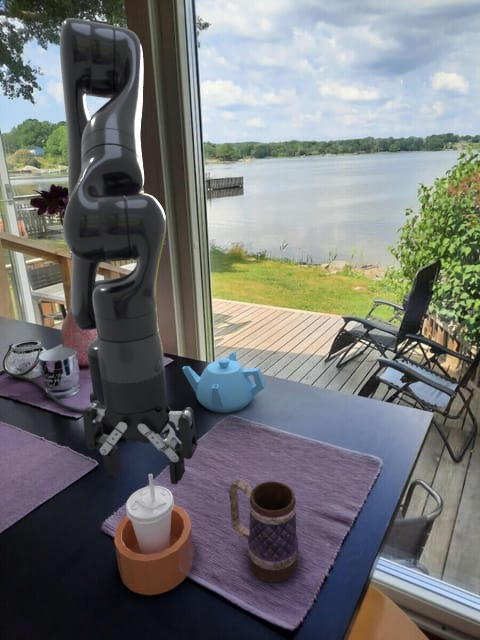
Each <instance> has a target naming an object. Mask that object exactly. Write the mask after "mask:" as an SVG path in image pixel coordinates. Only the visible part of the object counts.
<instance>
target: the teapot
mask: <svg viewBox="0 0 480 640" xmlns="http://www.w3.org/2000/svg"><path fill="white" fill-rule="evenodd" d="M181 371H182V372H183V374H184V375H185V378H186V380H187V381H188V383H189V384H190V386H191V388H192V390H193V391H194V393H195V395H196V399H197V401H198V403H200V405H202V407H204V408H205V409H207V410H208V411H211V412H216V413H233V412H238V411H240V410H242V409H244V408H245V407H247V406H248V405H249V404H250V402H251V401H252V400H253V398H254V397H255V396H256V395H257V394H259V393H260V392H262V391H263V390H265V388H266V382H265V379H264V377H263V374H262V371H261V368H260V367H251V368H249V367H248V368H245V367H244V366H243V365H242V364H241V363H240V362H239V361H237V352H235V351H231V352H230V353H229V357H228V358H227V357H222V358H221V357H220V358H219V359H218V360H214V361H212V362H210V363H209V364H208V365H207V366H206V367H205V368H204V370H203V371H202V373H201V375H198V374H197V372H195V371H194V370H193V369H192V368H191V366H190V365H188V366H187V365H185V366H183V367H181ZM251 376H252V377H253V380H254V383H253V380H252V378H251Z"/></svg>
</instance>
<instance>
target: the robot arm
mask: <svg viewBox="0 0 480 640" xmlns="http://www.w3.org/2000/svg"><path fill="white" fill-rule="evenodd" d="M143 56H144V55H143V48H142V44H141V41H140V38H139V37H138V35H137V33H136V32H134V31H133V30H131V29H128V28H125V27H122V26H118V25H113V24H107V23H103V22H98V21H97V22H96V21H92V20H91V21H90V20H87V19H80V18H75V17H67V18H65V20H63V21H62V24H61V28H60V34H59V59H60V61H59V62H60V72H61V73H60V74H61V82H62V92H63V93H62V94H63V102H64V113H65V124H66V135H67V179H68V180H67V181H68V182H67V184H68V186H67V187H68V202H67V205H66V208H65V211H64V215H63V221H62V223H63V225H62V230H63V238H64V242H65V244H66V247H67V248H68V250H69V251H70V252H71V274H70V310H71V314H72V318H73V321H74V323H75V325H76V326H77V327H78V328H79V329H80V330H83V331H92V330H96V336H97V337H96V338H95V339H93V340H92V341H91V342H90V343H89V344H88V346H87V347H86V354H87V361H88V368H89V374H90V380H91V388H92V392H91V393H89V400H90V403H89V405H88V406H87V407H86V408H85V409H79V408H76V407H72V406H69V405H67V404H65V403H63V402H61V401H60V400H59V399H57V398H56V397H55V396H54V395H53V394H52V393H51V392H50V393H51V394H50V393H47V392H46V390H45V388H46V387H45V386H44V385H43V384H42V383H40V382H39V381H37V380H35V379H33V378H30V377H28V376H24V375H21V374H16V373H14V374H8V373H7V372H6V371H5V370H6V369H2V370H1V371H0V375H3V374H6V375H8V376H11V377H13V378H17V379H21V380H24V381H27V382H30V383H32V384H34V385H36V386H37V387H39V388H40V389H41V390H42V391H44V393H46V395H47V396H48V397H49V398H50V399H51V400H52V401H54V402H55V403H56V404H57V405H58V406H59V407H60V408H62V409H66V410H68V411H70V412H74V413H78V414H82V419H83V429H84V438H85V447H86V449H87V450H89V451H93V450H97V451H99V453H100V454H101V455H102V460H103V466H104V471H105V473H106V474H108V477H109V479H116V478H117V477H118V475H119V474H120V472H121V470H122V464H121V463H122V462H121V455H120V448H119V446H118V445H116V444H117V443H118V441H122V440H125V442H128V443H133V442H134V443H135V442H139V443H142V444H152V445H153V447H155V448H156V449H157V451H159V452H163V453H164V455H165V456H166V457H167V458H168V459H169V460H168V467H169V478H170V484H171V485H178V483H179V482H180V481H182V479H183V476H184V475H185V472H186V466H185V465H186V464H185V459H186V460H191V459H193V456H194V454H195V451H196V450H197V447H198V438H197V430H196V423H195V416H194V410H193V408H191V407H190V406H186V407H184V409H183V410H171V408H170V407H169V405H168V391H167V381H166V371H165V370H166V369H165V360H164V347H163V342H162V337H161V334H160V327H159V316H158V305H157V302H158V301H157V281H158V274H159V273H158V272H159V268H160V267H159V266H160V262H161V256H162V252H163V247H164V243H165V239H166V232H167V219H166V218H167V217H166V214H165V211H164V209H163V207H162V205H161V204H160V202H159V201H158V200H157V199H156V198H155V197H154V196H153V195H150V194H148V193H142V191H143V188H144V183H145V175H144V174H145V173H144V165H143V157H142V156H143V155H142V146H141V123H142V122H141V121H142V112H143V91H144V90H143V89H144V88H143V87H144V57H143ZM87 96H88V97H95V98H101V99H109V100H108V101H106V103H104V104H103V105H101V107H99V109H97V110H96V111H95V112H94V113H93V114H92V115H91V114H90V111H89V109H88V108H89V107H88V103H87V98H86V97H87ZM123 261H136V264H135V266H134V268H133V269H132V270H131V271H130V272H129V273H128V274H125V275H124V276H121V277H111V278H105V279H99V280H97V274H98V272H99V270H100V267H101V264H102V263H108V262H110V263H111V262H123ZM169 422H171V423H173V424H174V427H175V430H176V431H179V437H180V439H179V438H178V437H177V436H176V432H175V430H174V429H173V427H172V426H171V425H170V424H169ZM161 434H162V435H163V436H162V437H161Z"/></svg>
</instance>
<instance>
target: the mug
mask: <svg viewBox="0 0 480 640" xmlns="http://www.w3.org/2000/svg"><path fill="white" fill-rule="evenodd" d="M238 490H240V491H242V492H243V493H244V496H245V498H246V499H248V501H249V505H248V506H249V508H248V510H249V523H248V524H249V525H248V526H249V527H245V526H244V525H243V524H242V523H241V520H240V511H239V510H240V509H239V497H238ZM228 497H229V504H230V521H231V522H230V523H231V527H232V529H233V531H234V532H236V533H237V535H239V536H240V537H242V538H244V539H245V540H247V554H248V565H249V569H250V571H251V572H252V574H253V575H254V576H255V577H257V578H259V579H260V580H262V581H265V582H268V583H280V582H284V581H286V580H288V579H289V578H291V577H292V576H293V575H294V573H295V572H296V571H297V567H298V555H299V538H298V536H297V513H296V512H297V502H296V497H295V493H294V491H293V489H292V488H291V487H290V486H289V485H287V484H285V483H283V482H279V481H274V480H273V481H272V480H271V481H269V480H268V481H264V482H261V483H259V484H257V485H256V486H255V487H253V489H252V487H251V484H249V482H248V481H247V480H245V479H243V478H240V479H235V480H232V483H231V485H230V487H229V489H228Z"/></svg>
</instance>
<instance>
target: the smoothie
mask: <svg viewBox="0 0 480 640" xmlns="http://www.w3.org/2000/svg"><path fill="white" fill-rule="evenodd" d="M147 476H148V484H149V486H144V487H142V488H139V489H137V490H136V491H134V492H133V493H132V494H131V495H130V496H129V497H128V499H127V500H126V504H125V509H126V511H125V512H126V515H127V516H128V518H129V519H130V520H131V521H132V525H133V528H134V531H135V534H136V538H137V541H138V544H139V547H140V551H141V554H146V555H149V554H154V553H159V552H162V551H164V550H166V549H168V548H169V547H170V530H171V511H172V510H173V506H174V505H175V501H174V496H173V494H172V492H171V490H169V489H168V488H166V487H164V486H159V485H155V483H154V476H153V473H149V474H148V475H147Z"/></svg>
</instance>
